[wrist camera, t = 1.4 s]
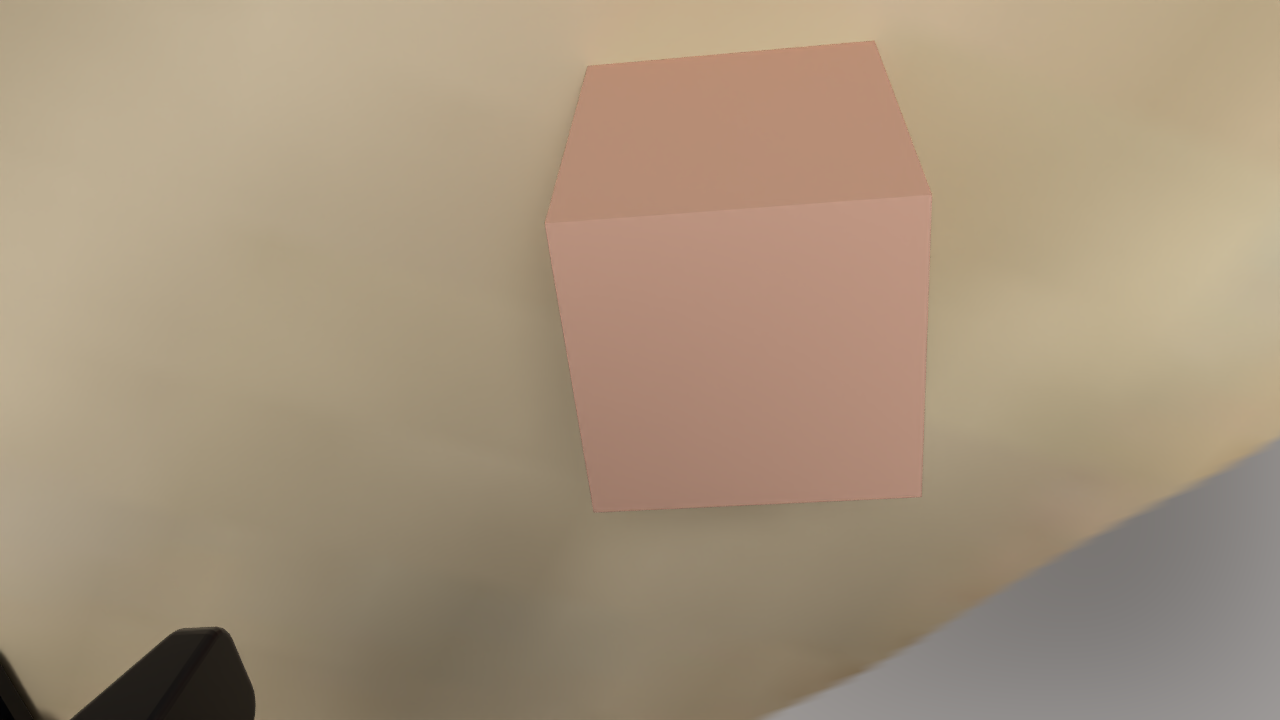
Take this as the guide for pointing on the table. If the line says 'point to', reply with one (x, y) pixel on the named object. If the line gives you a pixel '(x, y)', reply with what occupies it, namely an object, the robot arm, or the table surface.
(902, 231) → the peg block
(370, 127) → the table surface
